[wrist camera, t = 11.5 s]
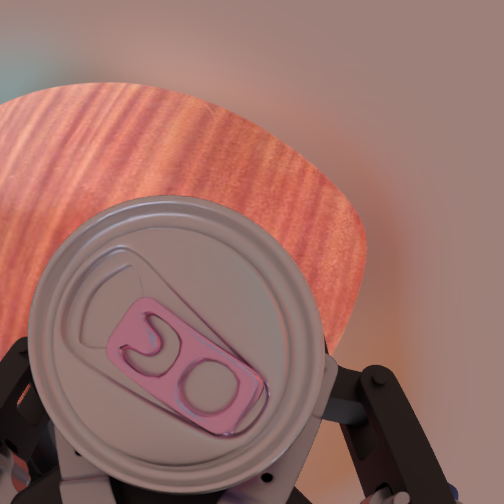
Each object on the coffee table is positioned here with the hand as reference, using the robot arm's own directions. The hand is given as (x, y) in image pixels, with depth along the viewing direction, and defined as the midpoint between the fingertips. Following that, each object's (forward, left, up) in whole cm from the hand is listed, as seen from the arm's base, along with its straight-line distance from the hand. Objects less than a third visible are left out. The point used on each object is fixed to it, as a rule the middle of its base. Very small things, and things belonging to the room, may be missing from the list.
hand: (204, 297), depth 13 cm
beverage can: (-2, +1, -7) cm, 8 cm away
